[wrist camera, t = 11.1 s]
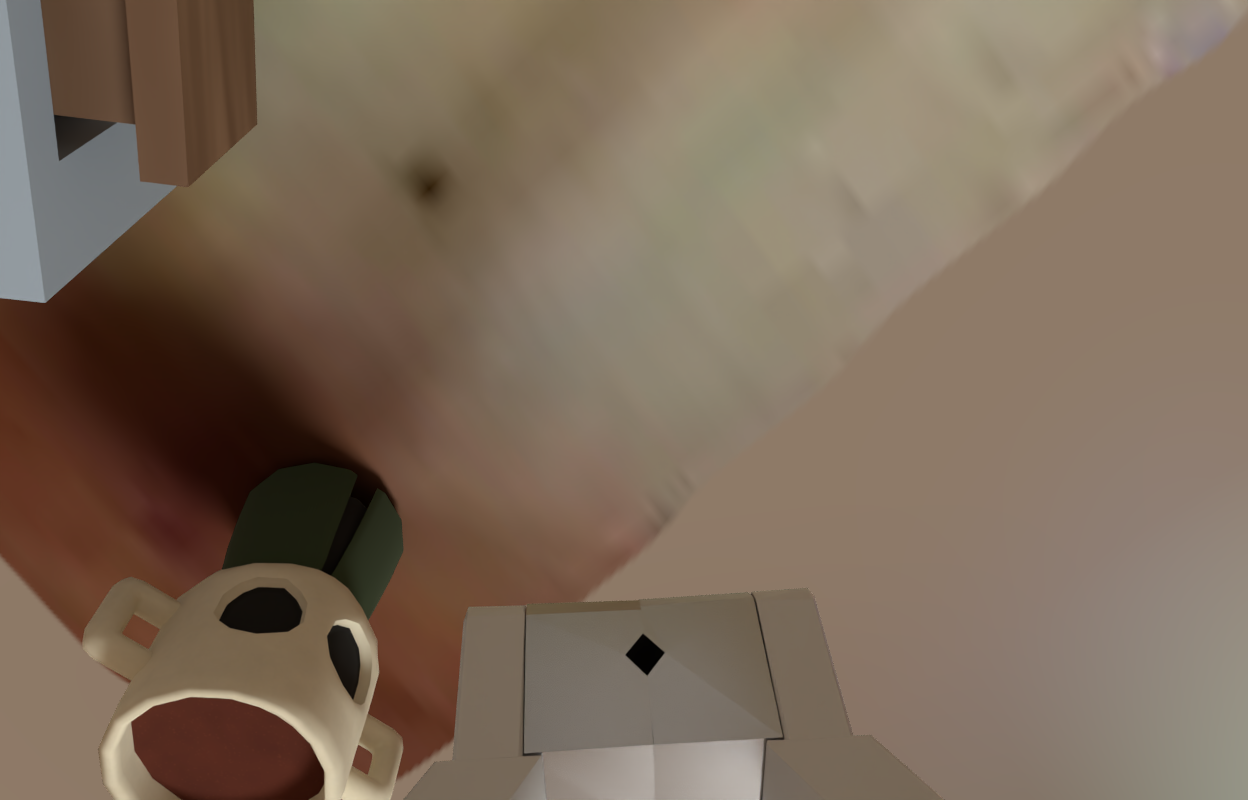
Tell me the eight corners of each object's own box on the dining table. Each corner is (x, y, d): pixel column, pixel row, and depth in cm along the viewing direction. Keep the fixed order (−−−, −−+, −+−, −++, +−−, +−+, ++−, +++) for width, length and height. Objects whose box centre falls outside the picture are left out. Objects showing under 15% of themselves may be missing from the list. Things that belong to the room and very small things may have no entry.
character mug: (493, 542, 45) (443, 800, 34) (389, 648, 48) (310, 922, 36) (254, 381, 42) (110, 607, 30) (157, 505, 44) (-9, 756, 33)
